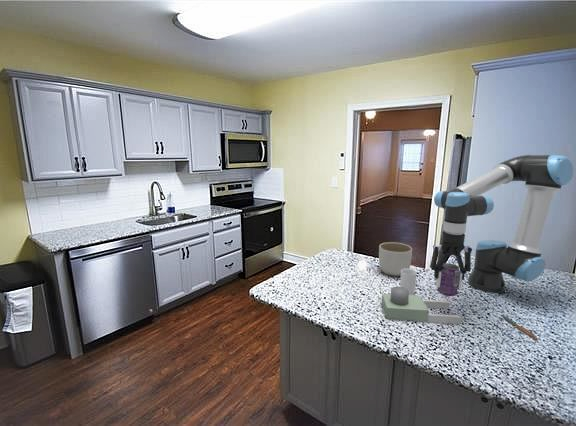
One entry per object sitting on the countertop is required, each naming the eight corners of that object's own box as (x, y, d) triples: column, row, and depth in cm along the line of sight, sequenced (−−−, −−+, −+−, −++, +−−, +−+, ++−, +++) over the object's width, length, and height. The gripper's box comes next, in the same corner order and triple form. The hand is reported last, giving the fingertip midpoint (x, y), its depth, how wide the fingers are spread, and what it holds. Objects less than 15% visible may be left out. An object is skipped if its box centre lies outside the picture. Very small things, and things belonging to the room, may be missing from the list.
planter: (383, 264, 172) (384, 240, 169) (413, 270, 162) (415, 245, 159) (373, 274, 159) (374, 248, 155) (405, 282, 149) (407, 254, 146)
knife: (495, 313, 118) (502, 313, 118) (495, 315, 118) (501, 315, 119) (533, 339, 102) (540, 338, 102) (532, 341, 102) (540, 341, 102)
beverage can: (454, 290, 119) (458, 263, 117) (458, 299, 113) (462, 270, 110) (435, 288, 121) (438, 261, 119) (438, 296, 115) (441, 268, 112)
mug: (416, 299, 132) (418, 275, 129) (401, 298, 133) (403, 274, 130) (410, 288, 142) (412, 266, 139) (396, 288, 143) (397, 265, 140)
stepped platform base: (448, 307, 124) (450, 286, 122) (460, 324, 113) (463, 301, 110) (381, 303, 129) (382, 282, 127) (386, 319, 117) (387, 296, 115)
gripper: (477, 230, 113) (470, 283, 118) (423, 228, 117) (419, 280, 121) (486, 235, 106) (479, 292, 111) (429, 234, 109) (424, 289, 114)
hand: (447, 286), depth 116 cm, fingers closed on beverage can, 7 cm apart
